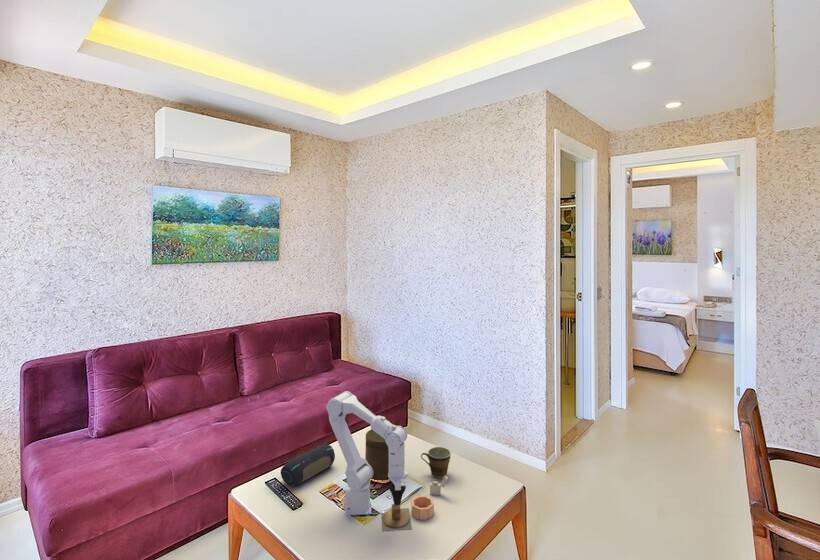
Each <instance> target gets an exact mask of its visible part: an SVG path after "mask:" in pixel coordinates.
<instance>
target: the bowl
mask: <svg viewBox="0 0 820 560" xmlns="http://www.w3.org/2000/svg"><path fill="white" fill-rule="evenodd" d="M434 503H435V502H434V499H433V498H431V497H429V496H427V495H417V496H415V497H413V498H412V499H411V504H410V505H411V508H410V509H411V515H412V517H414V518H415V519H417V520H428V519H430V518H432V517H433V515H434V514H435V513H434V511H435V510H434V509H435V508H434V507H435V504H434Z"/></svg>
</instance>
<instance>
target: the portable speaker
mask: <svg viewBox="0 0 820 560" xmlns="http://www.w3.org/2000/svg"><path fill="white" fill-rule="evenodd" d="M335 459H336V455H335V450H334V448H333V447H332V446H331V444H326V443H325V444H321V445H319V446H316V447H315V448H313V449H311V450H309V451H307V452H306V451H305V453H303V454H301V455H298V456H297V457H294V458H292V459H290V460H289V461H287V462H286V463H284V464H283V466H282V468H281V470H280V476H281V479H282V481H283V482H284V483H285V484H286V485H287V486H290V487H292V486H298V485H300V484H301V483H303V482H305V481H306V480H309V478H312V477H313V476H316V475H317V474H319V473H321V472H323V471H324V470H326V469H328V468H330V467H332V465H333V464H334V462H335Z"/></svg>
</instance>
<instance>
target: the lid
mask: <svg viewBox="0 0 820 560" xmlns="http://www.w3.org/2000/svg"><path fill="white" fill-rule="evenodd" d="M390 509H391V510H389V511H387V512H385V514H384V515H383V522H384V524H385V525H386V526H388V527H391V528H401V527H403V526H405V525H407V524H408V522H409V514H408V513H407V512H406V511H404V510H401V509H402V508H401V504H400V505H394V503H391V508H390Z"/></svg>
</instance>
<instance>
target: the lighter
mask: <svg viewBox="0 0 820 560" xmlns="http://www.w3.org/2000/svg"><path fill="white" fill-rule="evenodd" d="M448 479H449V476H448V475H447V476H446V475H445V476H444V478H442V480H441V482H439V481H438V480H437V481H435V480H433V481H432V482H430V483H429V484H430V485H429V495H432V496H441V490H442V489H441V487H442V488H444V487H445V485H446V483H447V481H448Z"/></svg>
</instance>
